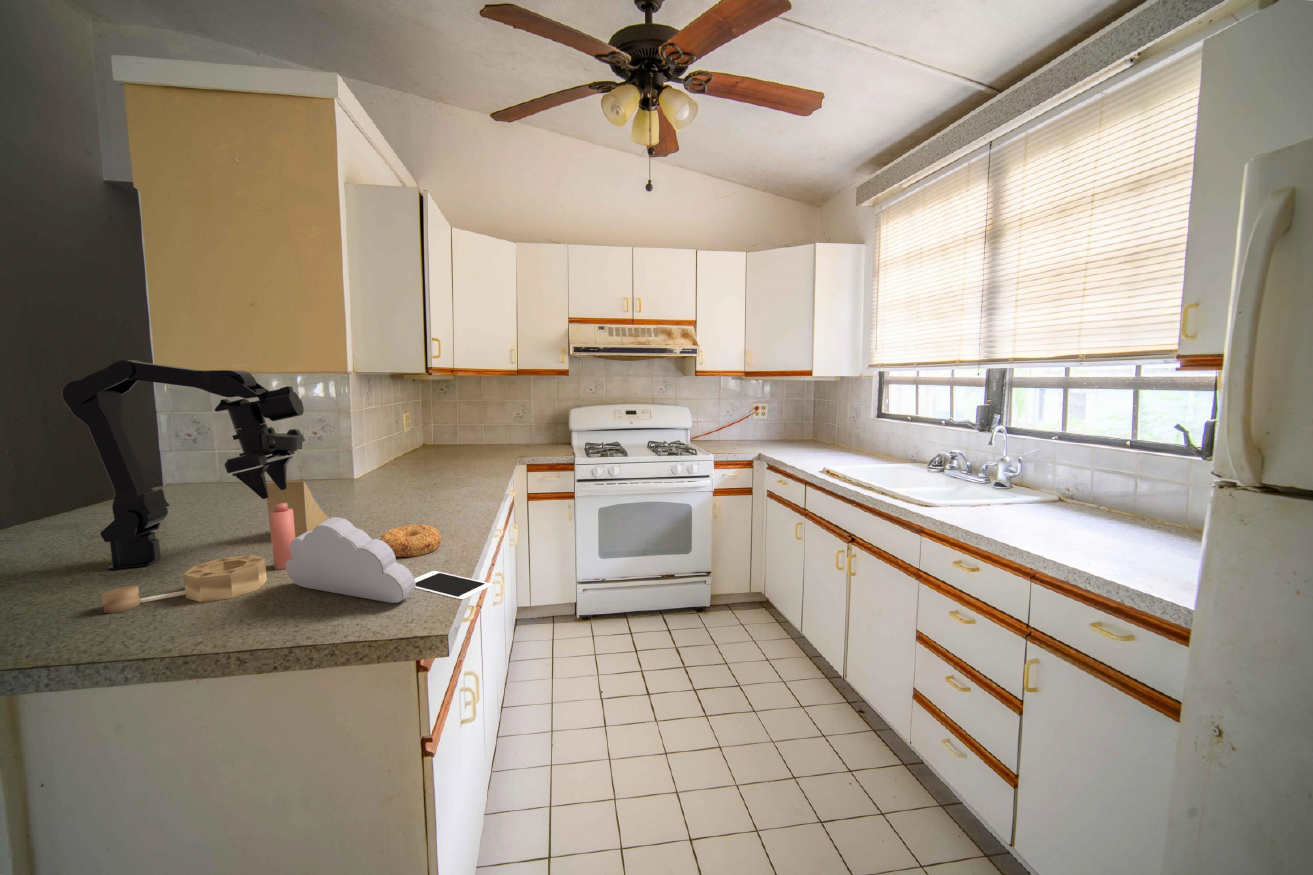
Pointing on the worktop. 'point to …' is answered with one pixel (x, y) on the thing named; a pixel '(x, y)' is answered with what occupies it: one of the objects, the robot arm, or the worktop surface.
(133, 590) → the small bead
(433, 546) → the bagel
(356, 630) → the worktop surface
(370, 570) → the decorative item
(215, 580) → the bead
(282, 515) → the pink bottle
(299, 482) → the sandwich container
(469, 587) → the cell phone
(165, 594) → the white thin stick
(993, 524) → the worktop surface
